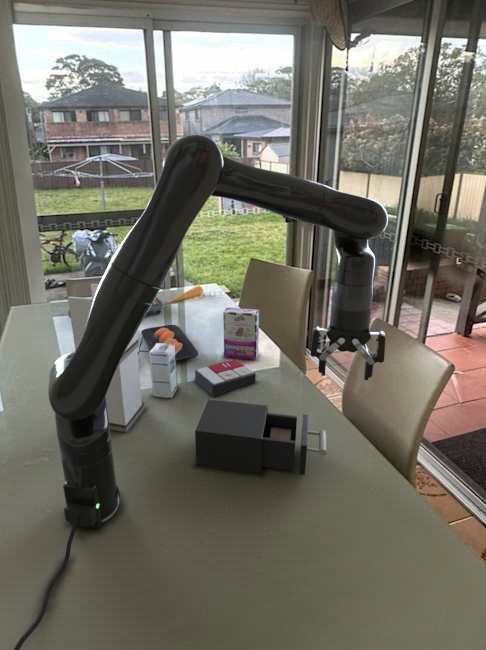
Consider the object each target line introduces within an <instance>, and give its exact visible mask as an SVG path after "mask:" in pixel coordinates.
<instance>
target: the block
mask: <svg viewBox="0 0 486 650" xmlns="http://www.w3.org/2000/svg"><path fill="white" fill-rule="evenodd" d="M270 438H275V439H283V440H290V439H291V429H282V428H274V427H271V433H270Z"/></svg>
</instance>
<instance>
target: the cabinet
mask: <svg viewBox="0 0 486 650" xmlns="http://www.w3.org/2000/svg"><path fill="white" fill-rule="evenodd" d="M267 413H269V406H268V405H264V404H256V403H255V404H254V403H246V402H236V401H229V400H228V401H226V400H217V399H207V401H206V404H205V406H204V408H203V411H202V413H201V416H200V418H199V420H198V422H197V424H196V428H195V430H194V439H195V440H194V441H195V465H196V467H199V468H200V467H201V468H206V469H207V468H208V469H215V470H222V471H229V472H237V473H245V474H252V475H258V476H259V475H260V476H261V475H262V470H263V467H262V466H261V465H262V438H263V433H264V427H265V422H266V417H267Z"/></svg>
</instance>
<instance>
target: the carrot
mask: <svg viewBox="0 0 486 650" xmlns="http://www.w3.org/2000/svg"><path fill="white" fill-rule="evenodd" d="M203 293H204V288H203V287H202V286H200V285H196V286H194V287H192V288H190V289H189V290H187V291H185V292H183V293H181V294H179V295H177V296H176V297H173V298H172V299H170V300H168V301H167V302H166V304H169V303H174V302H178V301H182V300H186V299H190V298H195V297H198V296H201V295H202V294H203Z"/></svg>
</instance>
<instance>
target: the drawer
mask: <svg viewBox="0 0 486 650" xmlns="http://www.w3.org/2000/svg"><path fill="white" fill-rule="evenodd" d="M301 421H302V423H301V425H302V426H301V434H300V435H301V436H300V438H301V439H300V453H299V470H298V471H299V472H298V475H299V476H305V475H306V466H307V465H306V464H307V453H308V452H310V453H311V452H312V453H318V454H319V455H320V456H326V455H327V454H328V443H327V431H326V430H325V429H321V430H319V431H317V430H316V431H315V430H309V414H305V413H303V414H302V420H301ZM297 422H298V416H297V415H292V414H291V415H290V414H284V413H283V414H281V413H274V412H273V413H272V412H268V413H267V417H266V422H265V427H264V433H263V438H262V465H261V466H262V468H263V467H264V468H270V469H279V470H286V471H294V468H295V454H296V441H297V438H296V437H297V426H298V425H297ZM271 427H274V428H282V429H291V439H290V440H283V439H275V438H270V433H271ZM308 435H312V436H318V447H319V448H316V447H308Z"/></svg>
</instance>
